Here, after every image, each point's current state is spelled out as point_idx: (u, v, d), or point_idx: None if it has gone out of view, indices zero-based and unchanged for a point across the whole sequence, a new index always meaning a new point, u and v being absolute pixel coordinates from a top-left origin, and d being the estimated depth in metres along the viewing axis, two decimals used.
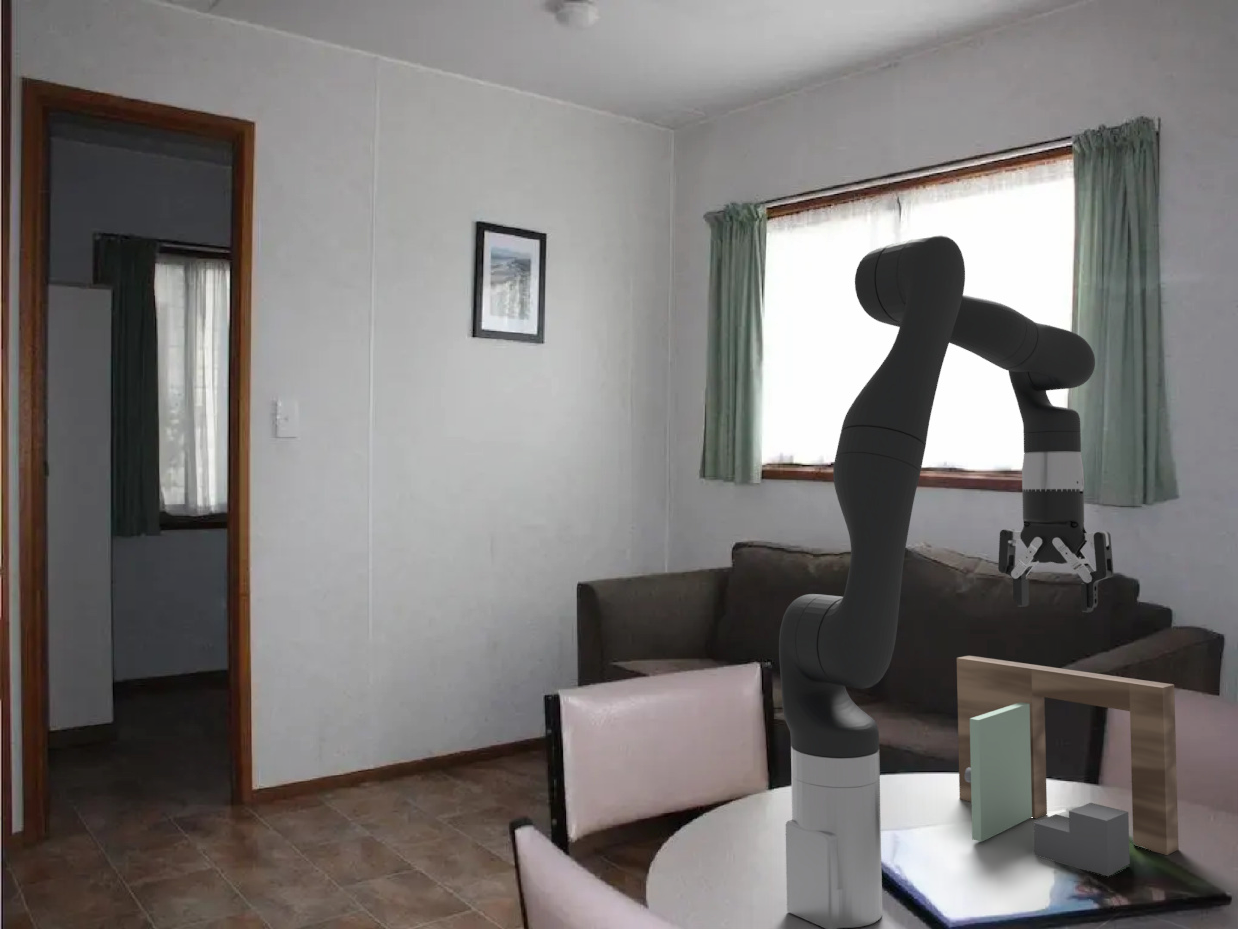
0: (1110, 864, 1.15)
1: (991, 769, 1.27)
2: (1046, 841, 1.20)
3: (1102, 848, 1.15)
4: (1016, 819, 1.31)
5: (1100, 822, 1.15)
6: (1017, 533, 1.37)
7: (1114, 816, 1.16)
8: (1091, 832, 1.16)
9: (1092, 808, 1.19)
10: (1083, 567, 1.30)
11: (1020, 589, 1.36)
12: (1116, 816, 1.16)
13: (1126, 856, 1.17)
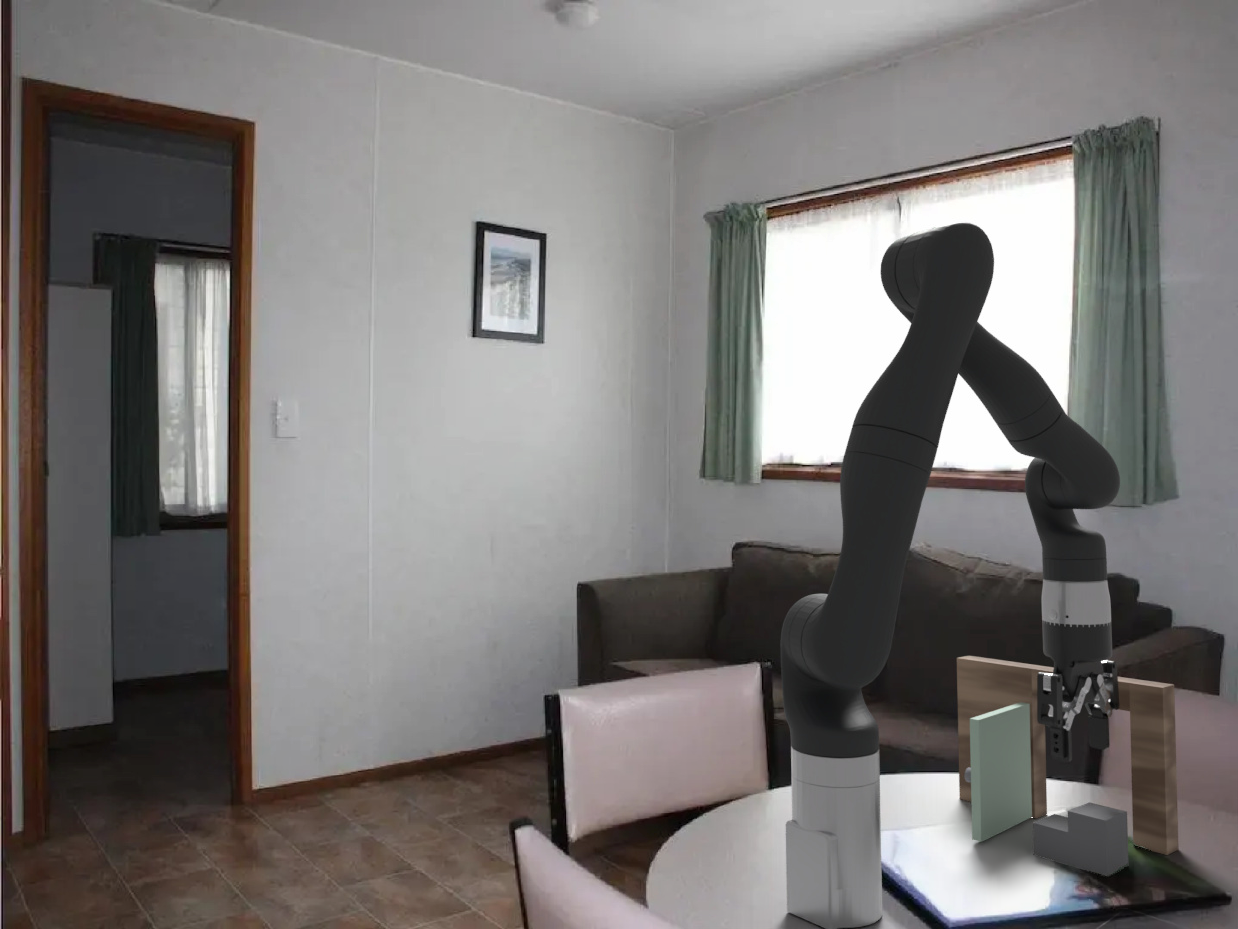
0: (1108, 864, 1.15)
1: (991, 769, 1.27)
2: (1045, 841, 1.21)
3: (1101, 848, 1.15)
4: (1016, 819, 1.31)
5: (1098, 822, 1.15)
6: None
7: (1112, 816, 1.16)
8: (1090, 832, 1.16)
9: (1091, 808, 1.19)
10: (1107, 701, 1.22)
11: (1070, 741, 1.17)
12: (1115, 816, 1.16)
13: (1125, 856, 1.17)
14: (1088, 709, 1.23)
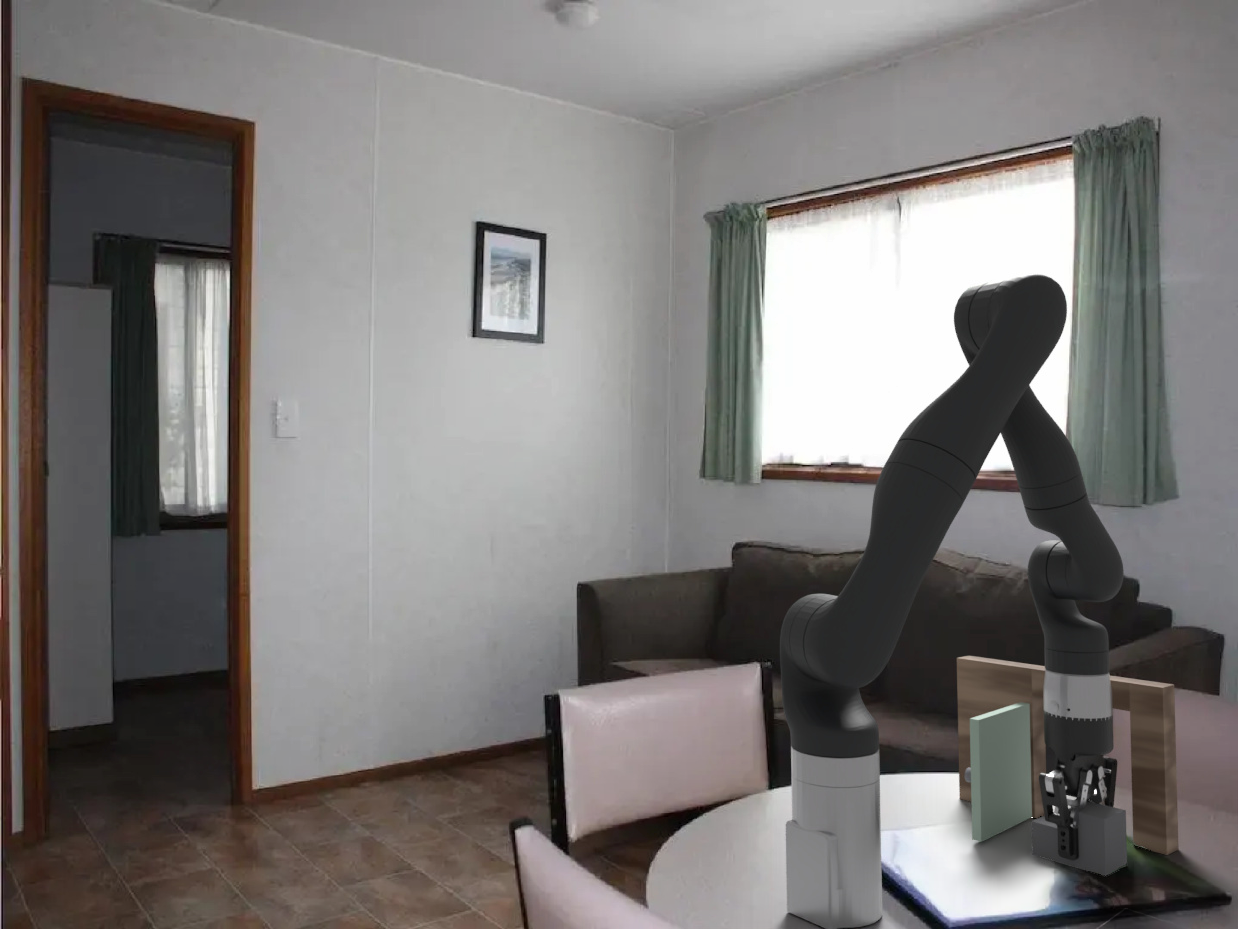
0: (1107, 862, 1.15)
1: (991, 769, 1.27)
2: (1044, 839, 1.21)
3: (1100, 846, 1.15)
4: (1016, 819, 1.31)
5: (1097, 820, 1.16)
6: (1061, 774, 1.17)
7: (1111, 815, 1.16)
8: (1088, 830, 1.16)
9: (1089, 806, 1.19)
10: (1103, 800, 1.21)
11: None
12: (1113, 814, 1.16)
13: (1123, 854, 1.17)
14: None
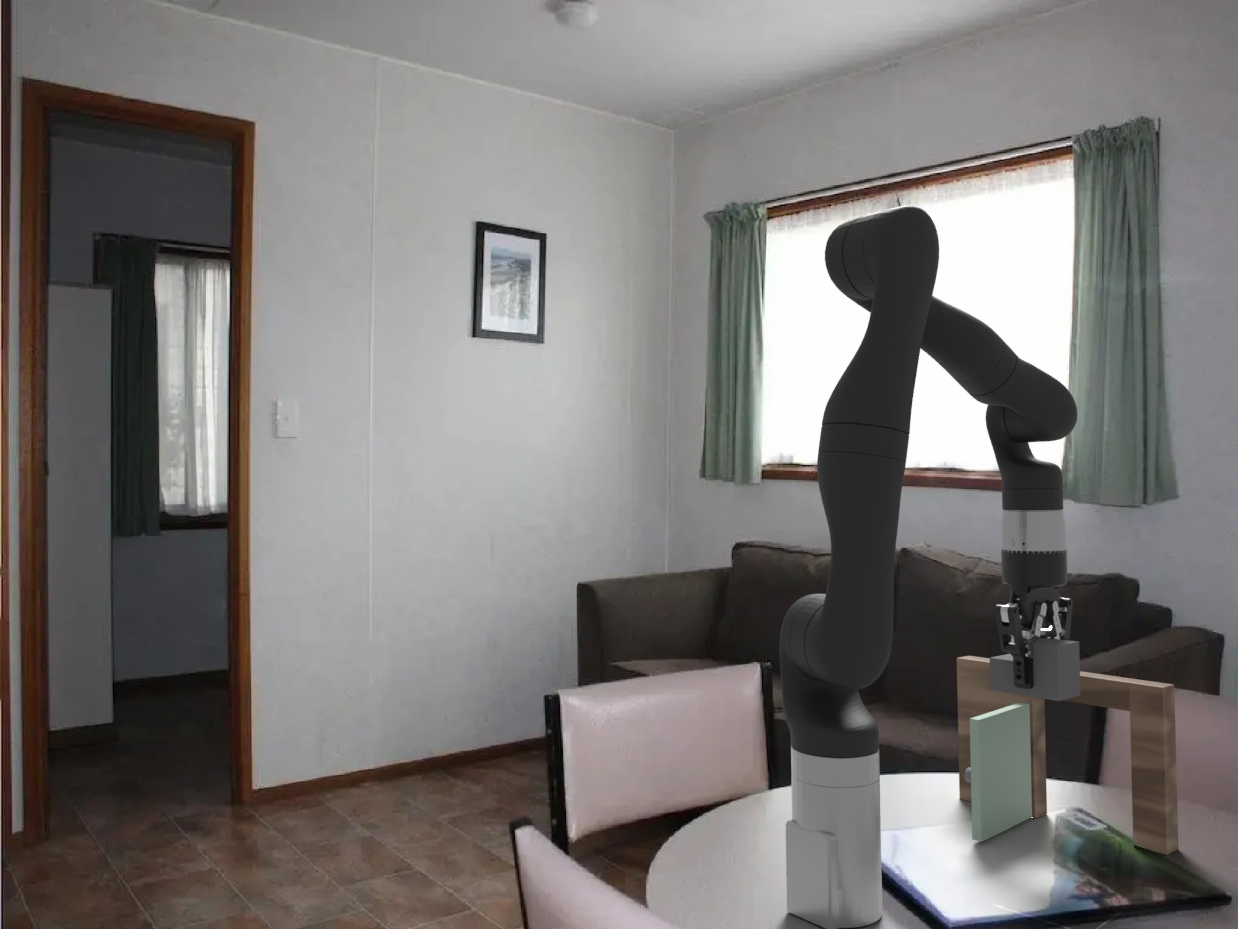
0: (1060, 688, 1.20)
1: (991, 769, 1.27)
2: (1001, 673, 1.25)
3: (1053, 672, 1.20)
4: (1016, 819, 1.31)
5: (1051, 648, 1.20)
6: (1016, 605, 1.21)
7: (1064, 644, 1.21)
8: (1043, 659, 1.21)
9: (1045, 640, 1.24)
10: (1058, 635, 1.25)
11: (1032, 669, 1.22)
12: (1067, 644, 1.21)
13: (1077, 683, 1.22)
14: None
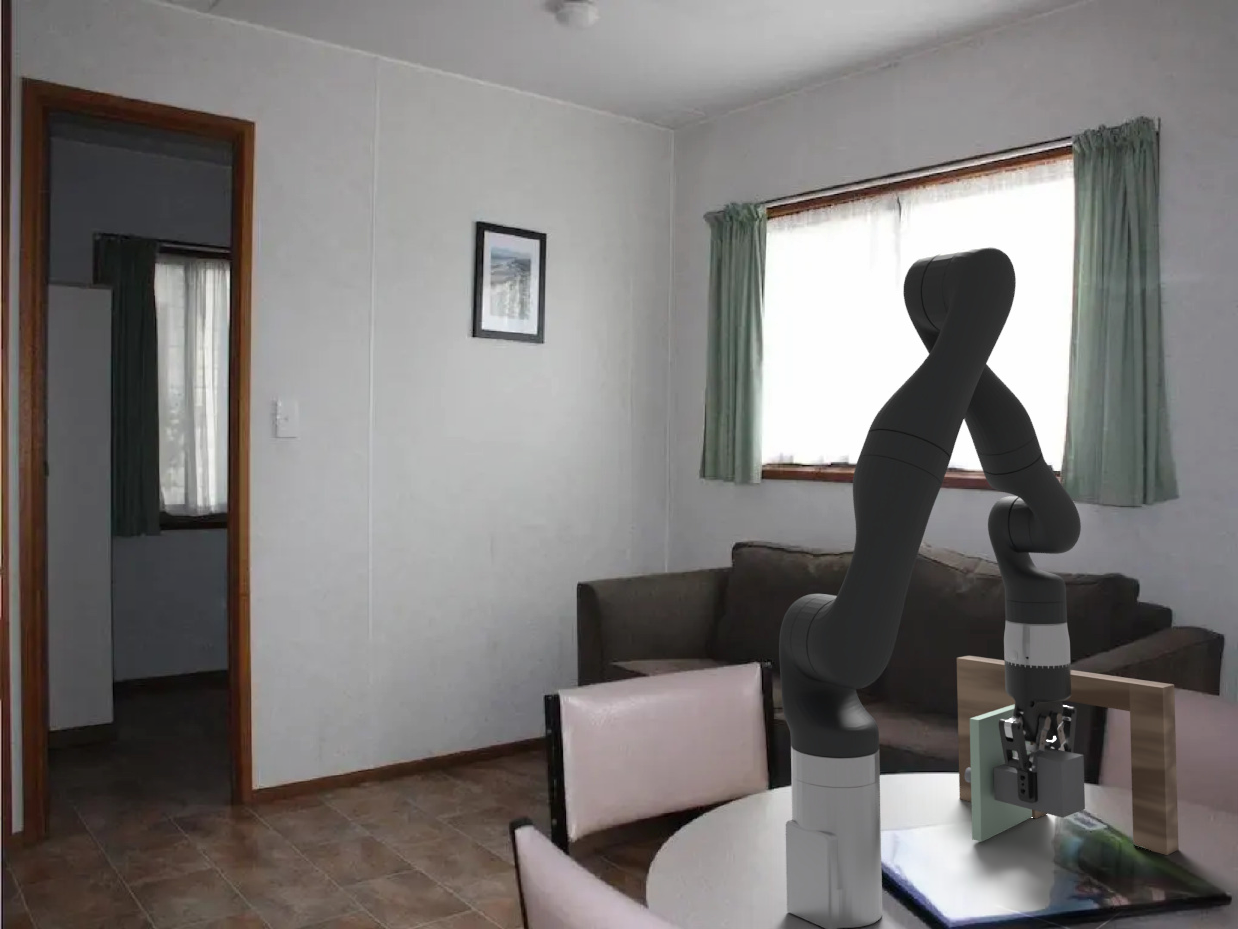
0: (1064, 804, 1.19)
1: (991, 769, 1.27)
2: (1005, 784, 1.25)
3: (1057, 789, 1.19)
4: (1016, 819, 1.31)
5: (1055, 764, 1.20)
6: (1020, 720, 1.21)
7: (1068, 759, 1.21)
8: (1047, 774, 1.21)
9: (1049, 752, 1.24)
10: (1062, 746, 1.25)
11: (1036, 783, 1.21)
12: (1071, 758, 1.21)
13: (1081, 797, 1.22)
14: None
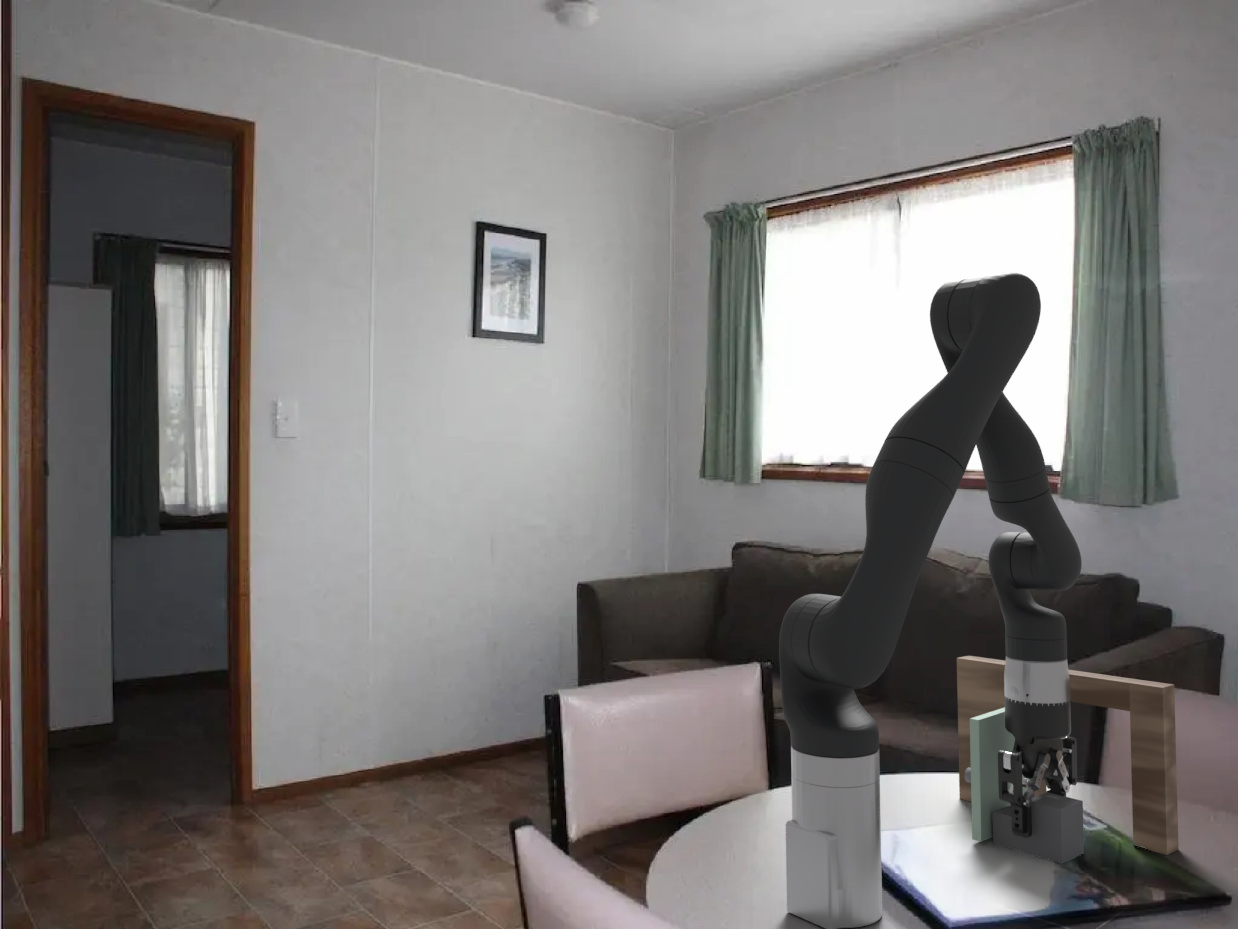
0: (1063, 851, 1.19)
1: (991, 769, 1.27)
2: (1004, 829, 1.25)
3: (1057, 835, 1.19)
4: None
5: (1054, 810, 1.20)
6: (1020, 754, 1.21)
7: (1068, 805, 1.20)
8: (1046, 820, 1.20)
9: (1048, 797, 1.23)
10: (1065, 777, 1.25)
11: (1031, 818, 1.21)
12: (1070, 805, 1.21)
13: (1080, 843, 1.21)
14: (1047, 783, 1.27)
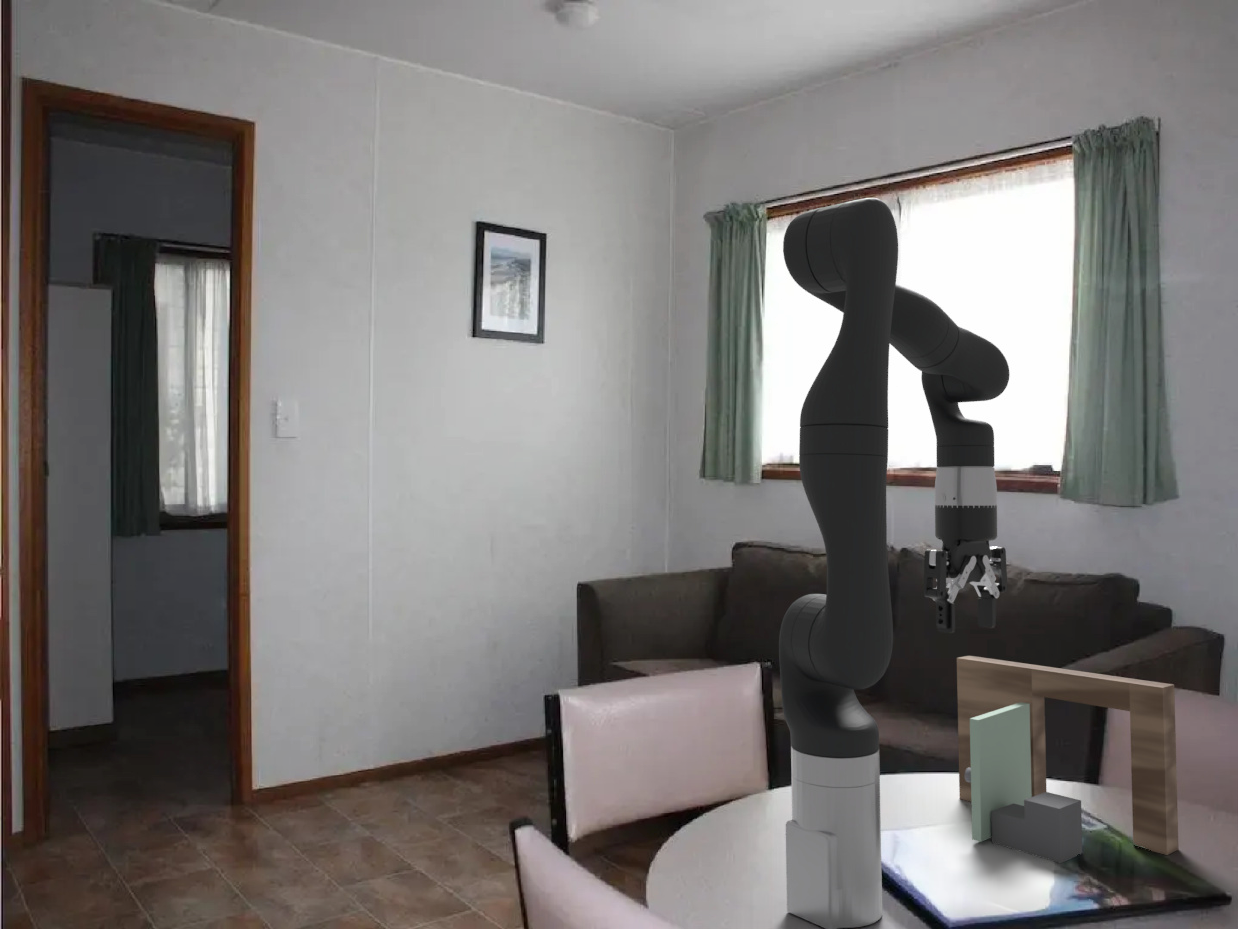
0: (1062, 850, 1.19)
1: (991, 769, 1.27)
2: (1003, 829, 1.25)
3: (1055, 835, 1.20)
4: None
5: (1053, 810, 1.20)
6: None
7: (1066, 805, 1.21)
8: (1045, 820, 1.21)
9: (1047, 797, 1.24)
10: (994, 583, 1.30)
11: (954, 614, 1.25)
12: (1069, 804, 1.21)
13: (1079, 843, 1.22)
14: (978, 591, 1.32)
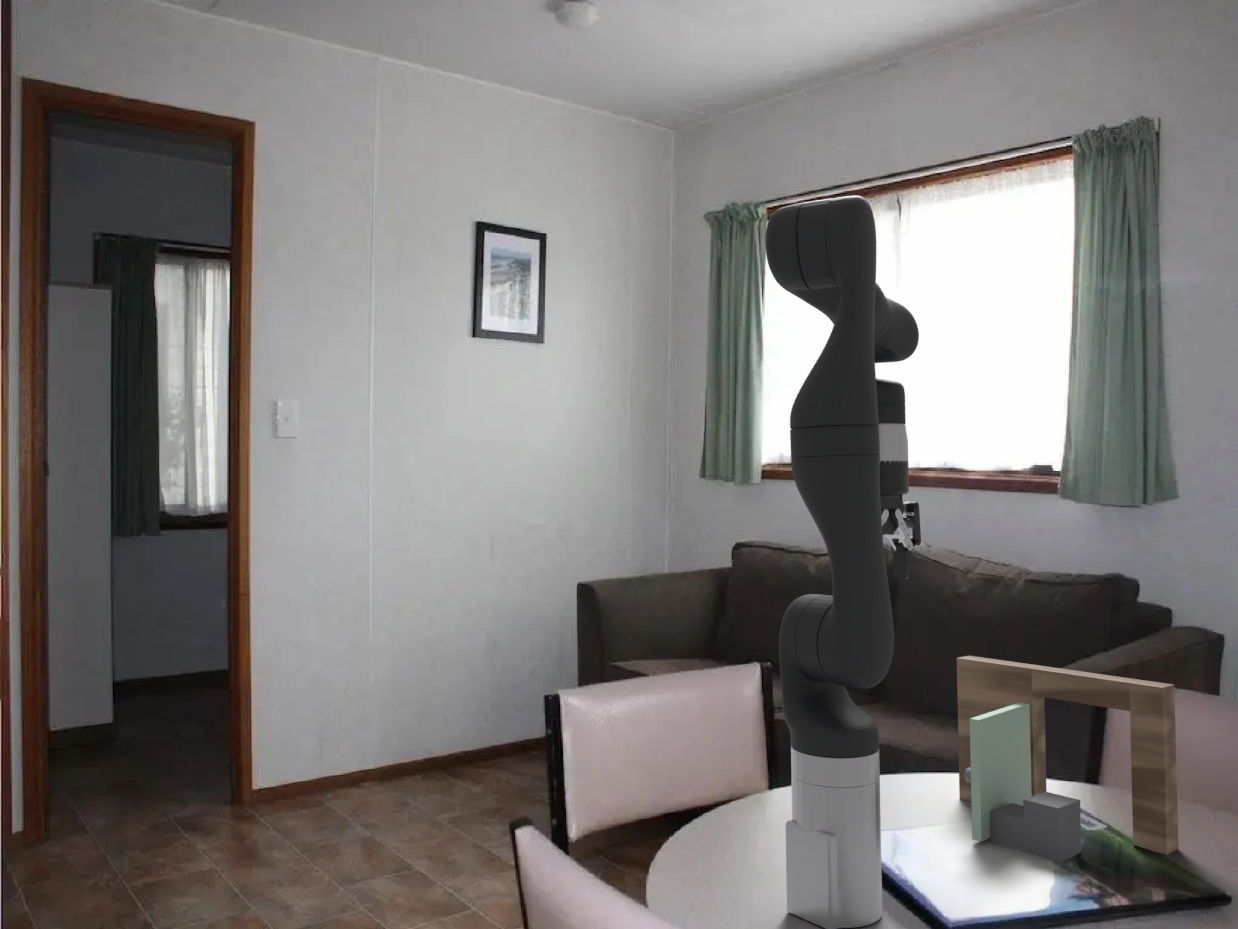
0: (1061, 850, 1.20)
1: (991, 769, 1.27)
2: (1002, 828, 1.25)
3: (1054, 834, 1.20)
4: None
5: (1052, 809, 1.20)
6: None
7: (1065, 804, 1.21)
8: (1044, 819, 1.21)
9: (1046, 796, 1.24)
10: (907, 536, 1.36)
11: None
12: (1068, 804, 1.21)
13: (1078, 842, 1.22)
14: (893, 544, 1.38)
